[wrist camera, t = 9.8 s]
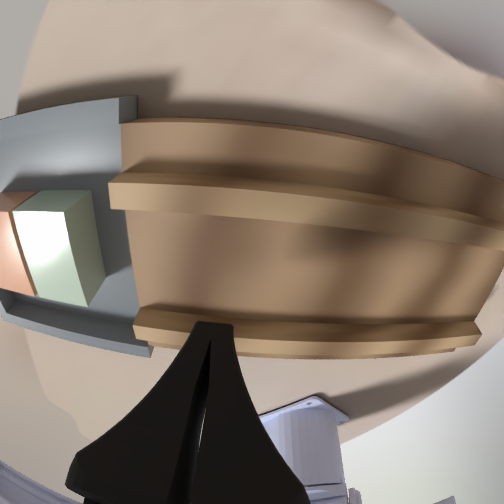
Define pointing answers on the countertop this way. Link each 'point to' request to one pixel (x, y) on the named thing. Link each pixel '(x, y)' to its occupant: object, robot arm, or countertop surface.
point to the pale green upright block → (61, 245)
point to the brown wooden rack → (305, 239)
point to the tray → (107, 220)
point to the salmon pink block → (13, 247)
